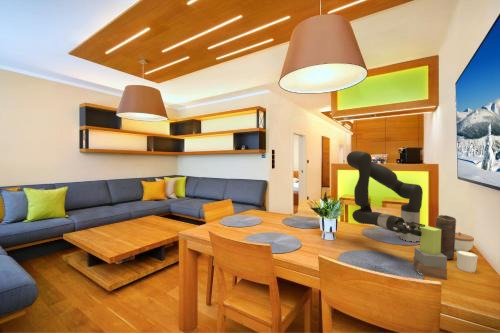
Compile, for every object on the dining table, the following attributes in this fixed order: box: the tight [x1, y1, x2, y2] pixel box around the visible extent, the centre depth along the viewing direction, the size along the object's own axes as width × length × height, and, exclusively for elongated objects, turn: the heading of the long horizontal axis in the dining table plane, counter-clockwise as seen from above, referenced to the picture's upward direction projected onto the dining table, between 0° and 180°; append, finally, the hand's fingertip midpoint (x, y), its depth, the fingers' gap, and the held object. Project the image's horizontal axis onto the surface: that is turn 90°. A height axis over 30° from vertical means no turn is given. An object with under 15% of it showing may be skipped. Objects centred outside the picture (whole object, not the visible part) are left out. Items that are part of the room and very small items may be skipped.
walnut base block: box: [412, 257, 448, 280], centre depth 95 cm, size 9×9×4 cm
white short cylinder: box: [455, 251, 479, 273], centre depth 98 cm, size 7×7×7 cm
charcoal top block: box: [413, 247, 448, 269], centre depth 95 cm, size 8×8×4 cm
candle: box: [435, 214, 457, 260], centre depth 109 cm, size 8×7×20 cm
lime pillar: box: [419, 225, 441, 255], centre depth 95 cm, size 5×5×10 cm
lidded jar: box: [454, 231, 475, 252], centre depth 118 cm, size 11×11×9 cm
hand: (427, 232), depth 96 cm, fingers open, 8 cm apart
